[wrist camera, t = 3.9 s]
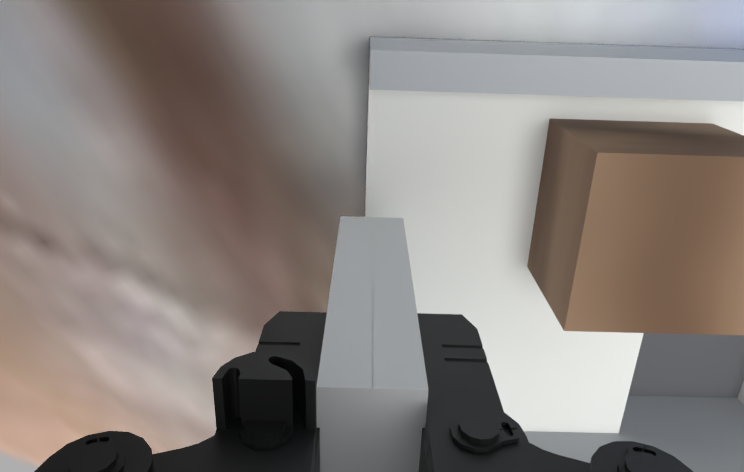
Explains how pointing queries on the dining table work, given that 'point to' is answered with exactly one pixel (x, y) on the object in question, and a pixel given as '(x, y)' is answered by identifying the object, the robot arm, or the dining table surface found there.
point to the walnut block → (641, 227)
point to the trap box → (515, 226)
